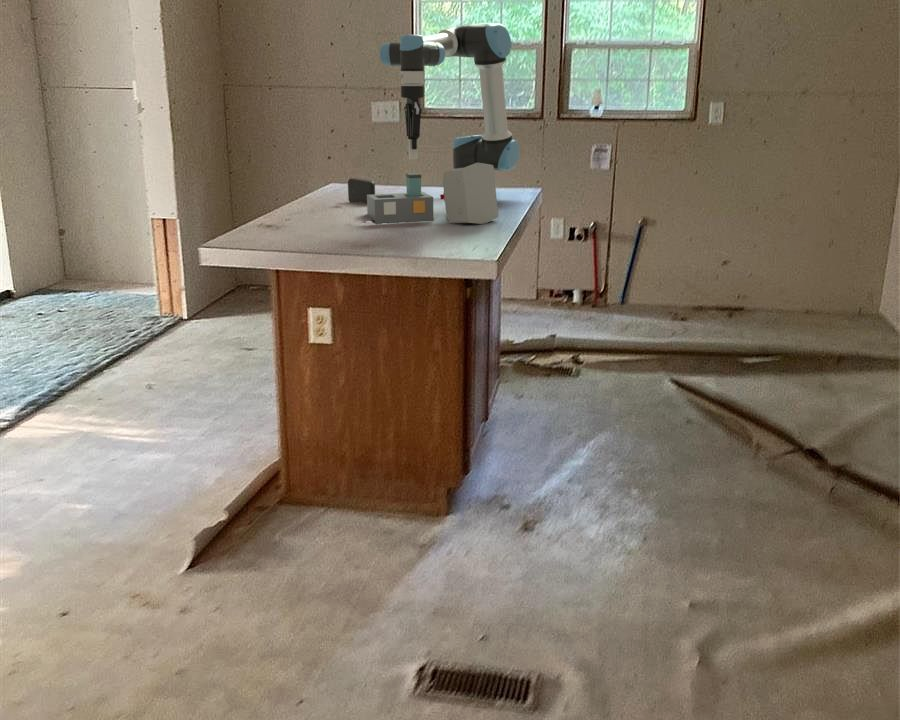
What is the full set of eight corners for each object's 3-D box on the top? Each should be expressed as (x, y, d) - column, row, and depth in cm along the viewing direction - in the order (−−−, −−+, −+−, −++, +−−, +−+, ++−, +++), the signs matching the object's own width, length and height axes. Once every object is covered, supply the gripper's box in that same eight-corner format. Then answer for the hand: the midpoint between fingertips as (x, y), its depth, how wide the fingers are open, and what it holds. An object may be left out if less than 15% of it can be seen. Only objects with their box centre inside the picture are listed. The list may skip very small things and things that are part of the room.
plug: (418, 214, 306) (417, 173, 301) (421, 216, 302) (421, 174, 297) (406, 215, 304) (405, 173, 300) (409, 217, 301) (409, 175, 296)
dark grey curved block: (382, 207, 328) (381, 181, 325) (371, 208, 326) (371, 182, 323) (357, 202, 340) (356, 177, 337) (347, 203, 337) (346, 178, 334)
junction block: (423, 215, 310) (423, 192, 308) (433, 221, 299) (433, 197, 296) (367, 218, 305) (366, 194, 302) (375, 224, 293) (374, 199, 291)
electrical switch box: (467, 222, 309) (461, 164, 305) (498, 221, 298) (493, 160, 294) (437, 227, 299) (430, 167, 295) (468, 226, 289) (462, 164, 285)
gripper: (396, 84, 294) (397, 157, 302) (406, 85, 283) (407, 161, 290) (418, 84, 297) (419, 157, 304) (428, 85, 285) (429, 160, 292)
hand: (413, 159), depth 297 cm, fingers closed
